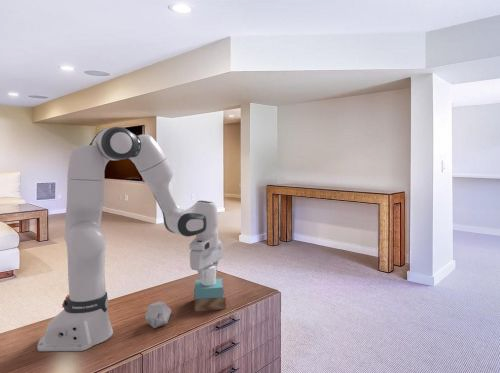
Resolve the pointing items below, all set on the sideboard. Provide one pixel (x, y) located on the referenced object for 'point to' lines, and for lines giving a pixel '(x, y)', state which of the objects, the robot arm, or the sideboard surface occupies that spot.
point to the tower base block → (210, 303)
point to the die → (158, 314)
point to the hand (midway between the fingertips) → (208, 274)
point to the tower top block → (208, 290)
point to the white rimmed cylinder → (209, 275)
